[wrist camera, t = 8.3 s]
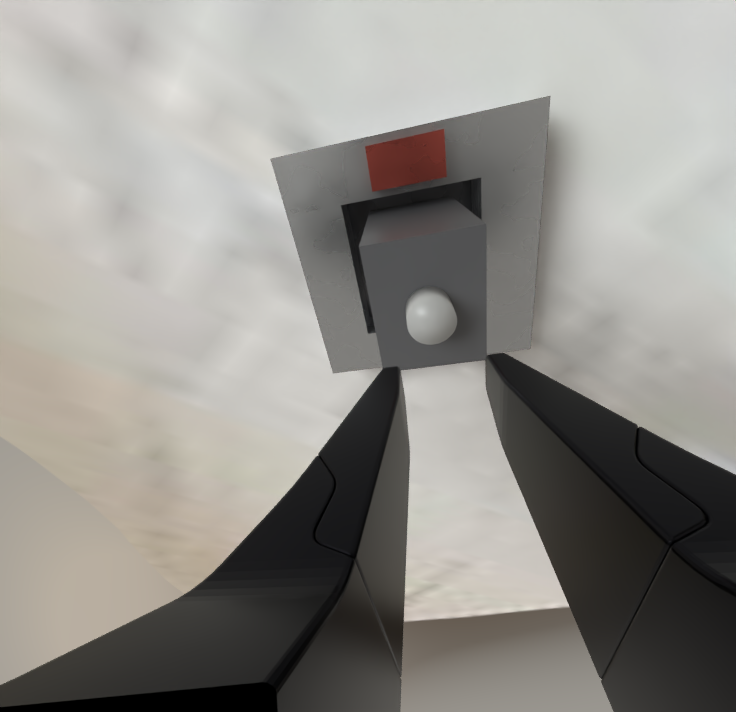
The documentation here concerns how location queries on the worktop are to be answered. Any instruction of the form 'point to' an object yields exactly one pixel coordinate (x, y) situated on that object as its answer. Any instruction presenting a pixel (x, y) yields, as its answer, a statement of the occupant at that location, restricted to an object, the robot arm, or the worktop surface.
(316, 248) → the socket plate
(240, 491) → the worktop surface
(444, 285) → the plug
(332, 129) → the worktop surface
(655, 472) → the robot arm
